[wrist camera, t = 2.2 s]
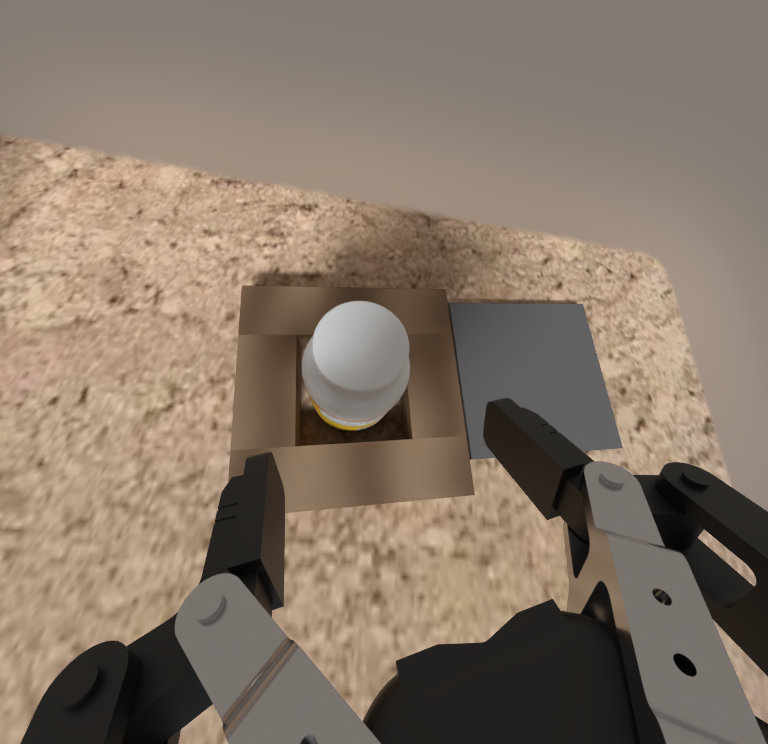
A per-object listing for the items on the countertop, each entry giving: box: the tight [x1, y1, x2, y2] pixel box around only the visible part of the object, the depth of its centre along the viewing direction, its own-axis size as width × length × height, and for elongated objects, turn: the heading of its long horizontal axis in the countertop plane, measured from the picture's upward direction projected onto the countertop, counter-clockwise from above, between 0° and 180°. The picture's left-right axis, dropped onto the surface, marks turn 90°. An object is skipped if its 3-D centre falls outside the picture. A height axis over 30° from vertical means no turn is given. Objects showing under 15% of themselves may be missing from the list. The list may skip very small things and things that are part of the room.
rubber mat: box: [448, 303, 623, 459], centre depth 24 cm, size 12×12×1 cm
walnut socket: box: [228, 286, 475, 513], centre depth 20 cm, size 14×14×2 cm
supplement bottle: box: [302, 301, 410, 432], centre depth 17 cm, size 5×5×10 cm
